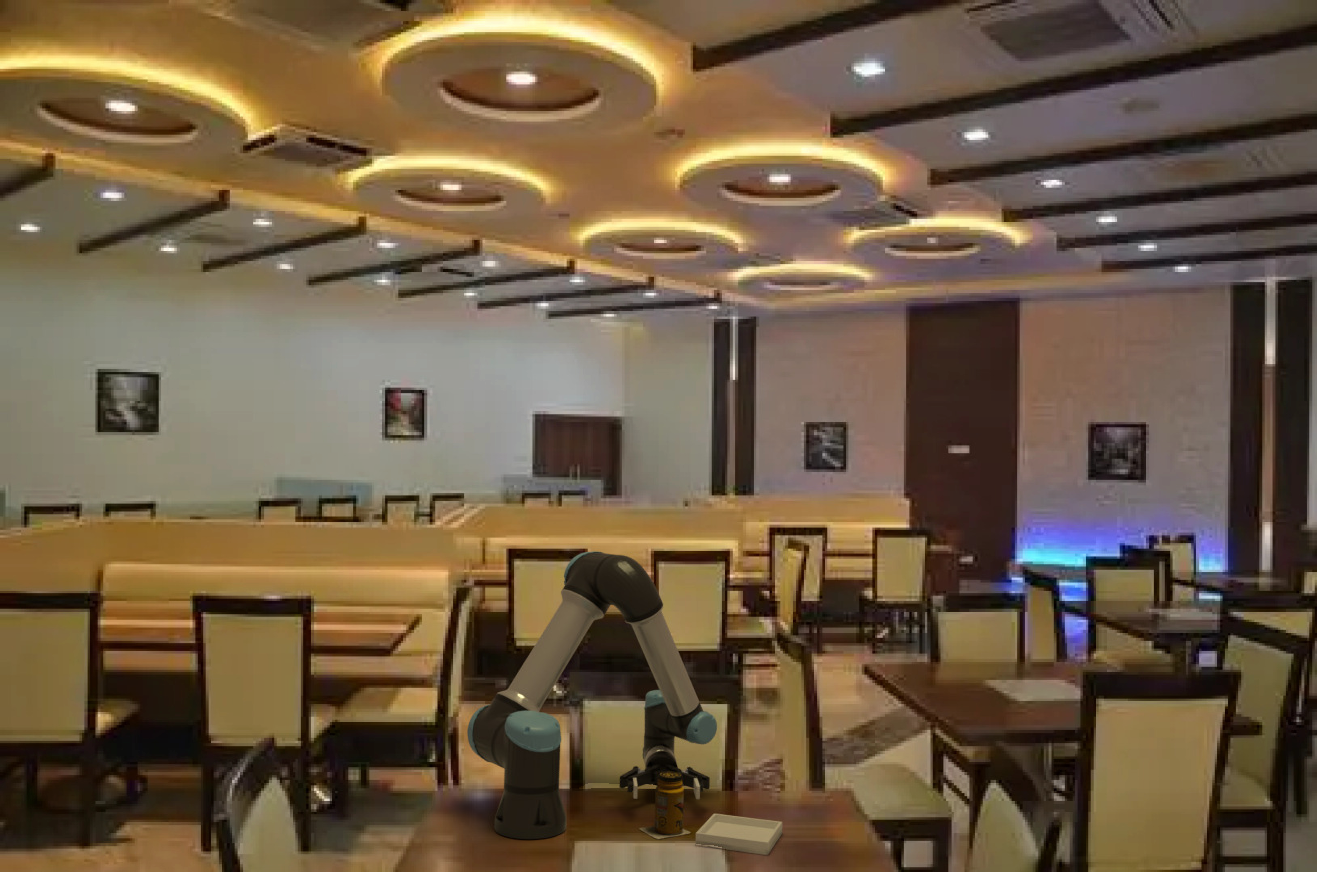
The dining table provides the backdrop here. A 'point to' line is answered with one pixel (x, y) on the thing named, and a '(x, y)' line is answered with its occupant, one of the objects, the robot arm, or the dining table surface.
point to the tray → (740, 833)
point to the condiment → (668, 807)
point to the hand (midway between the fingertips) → (666, 792)
